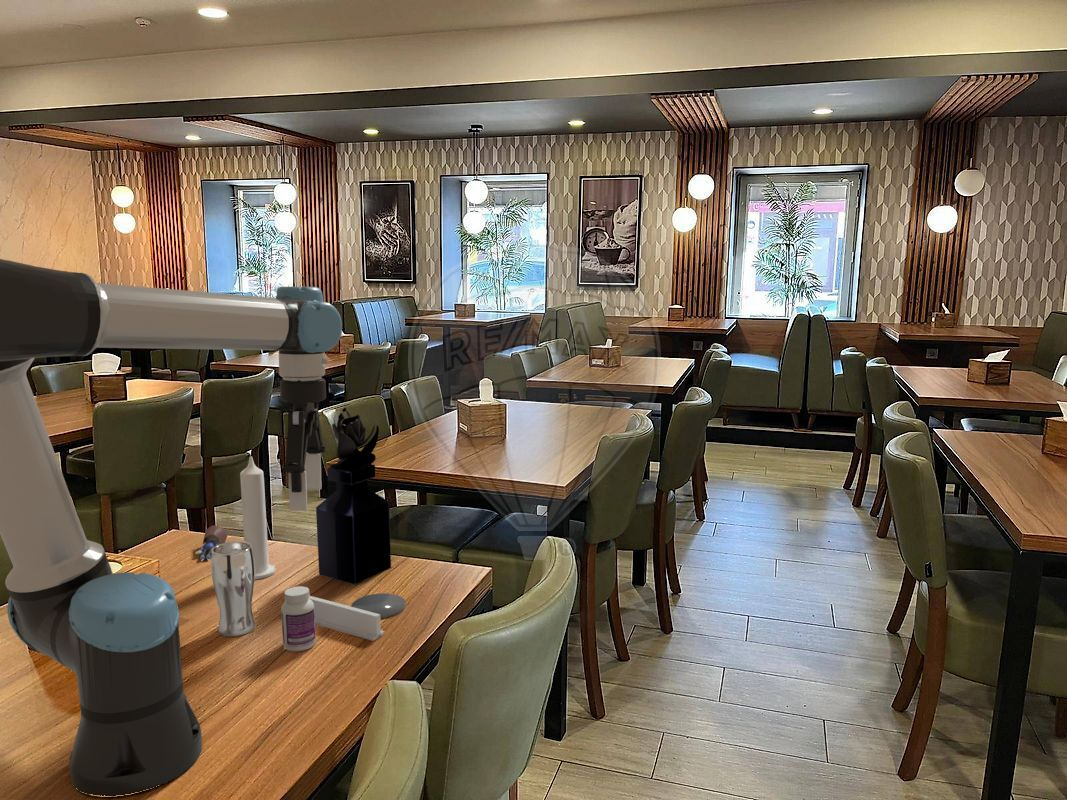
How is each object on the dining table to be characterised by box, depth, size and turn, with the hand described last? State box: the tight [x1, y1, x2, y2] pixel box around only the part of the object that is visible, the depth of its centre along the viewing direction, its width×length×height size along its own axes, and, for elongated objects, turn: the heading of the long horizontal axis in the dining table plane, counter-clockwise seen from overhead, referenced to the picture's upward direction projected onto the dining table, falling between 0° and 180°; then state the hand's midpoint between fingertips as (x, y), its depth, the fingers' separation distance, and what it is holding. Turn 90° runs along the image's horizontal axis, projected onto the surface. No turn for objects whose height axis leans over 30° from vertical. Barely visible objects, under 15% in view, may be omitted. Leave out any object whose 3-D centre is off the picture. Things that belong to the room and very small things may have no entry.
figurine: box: [194, 525, 228, 561], centre depth 174 cm, size 6×5×12 cm
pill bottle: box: [280, 586, 317, 652], centre depth 130 cm, size 5×5×10 cm
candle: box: [239, 456, 277, 580], centre depth 160 cm, size 7×7×25 cm
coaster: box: [350, 592, 407, 620], centre depth 146 cm, size 10×10×1 cm
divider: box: [309, 595, 386, 642], centre depth 137 cm, size 3×18×4 cm, turn 62°
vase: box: [315, 407, 392, 586], centre depth 162 cm, size 14×12×35 cm
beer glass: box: [210, 540, 256, 638], centre depth 135 cm, size 7×7×15 cm
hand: (306, 499), depth 135 cm, fingers open, 13 cm apart
